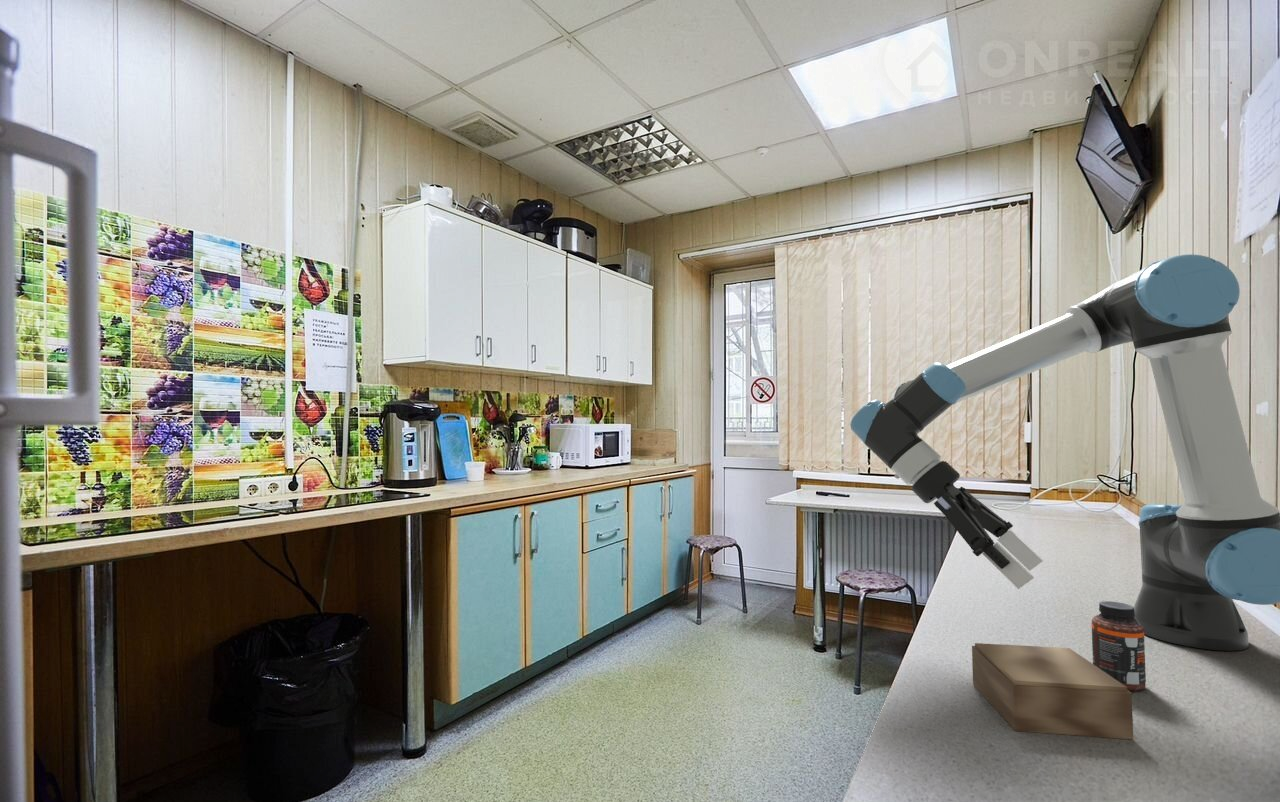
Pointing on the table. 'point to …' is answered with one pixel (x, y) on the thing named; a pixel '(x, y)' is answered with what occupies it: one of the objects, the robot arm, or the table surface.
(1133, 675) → the supplement bottle
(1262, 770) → the table surface
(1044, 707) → the block
